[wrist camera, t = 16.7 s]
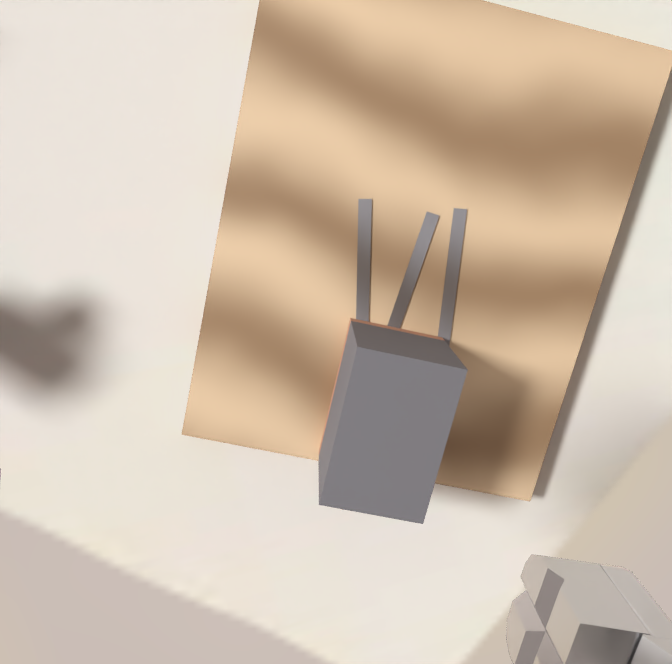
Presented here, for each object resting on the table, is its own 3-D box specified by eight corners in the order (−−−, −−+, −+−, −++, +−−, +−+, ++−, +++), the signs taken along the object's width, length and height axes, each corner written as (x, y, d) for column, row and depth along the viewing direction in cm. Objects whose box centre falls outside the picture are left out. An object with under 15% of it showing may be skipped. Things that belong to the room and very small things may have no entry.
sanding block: (350, 317, 28) (357, 346, 23) (442, 337, 29) (467, 369, 24) (318, 451, 30) (318, 504, 25) (405, 468, 30) (422, 523, 26)
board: (271, -46, 26) (269, -57, 25) (661, 57, 27) (677, 51, 26) (186, 425, 31) (181, 435, 29) (522, 489, 32) (530, 502, 31)
